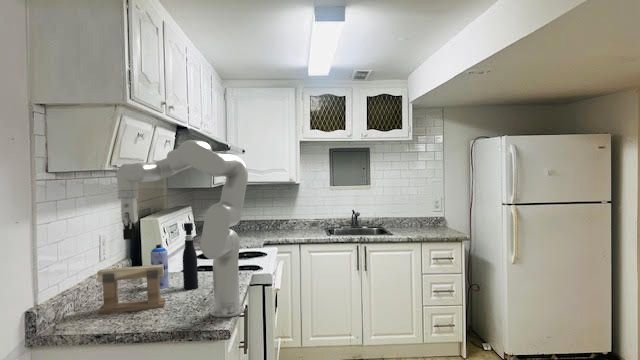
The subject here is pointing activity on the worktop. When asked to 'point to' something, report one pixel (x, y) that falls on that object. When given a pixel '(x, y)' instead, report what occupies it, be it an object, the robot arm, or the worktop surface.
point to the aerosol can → (161, 258)
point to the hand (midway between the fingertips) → (129, 237)
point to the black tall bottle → (189, 260)
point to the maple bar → (130, 272)
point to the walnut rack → (113, 306)
